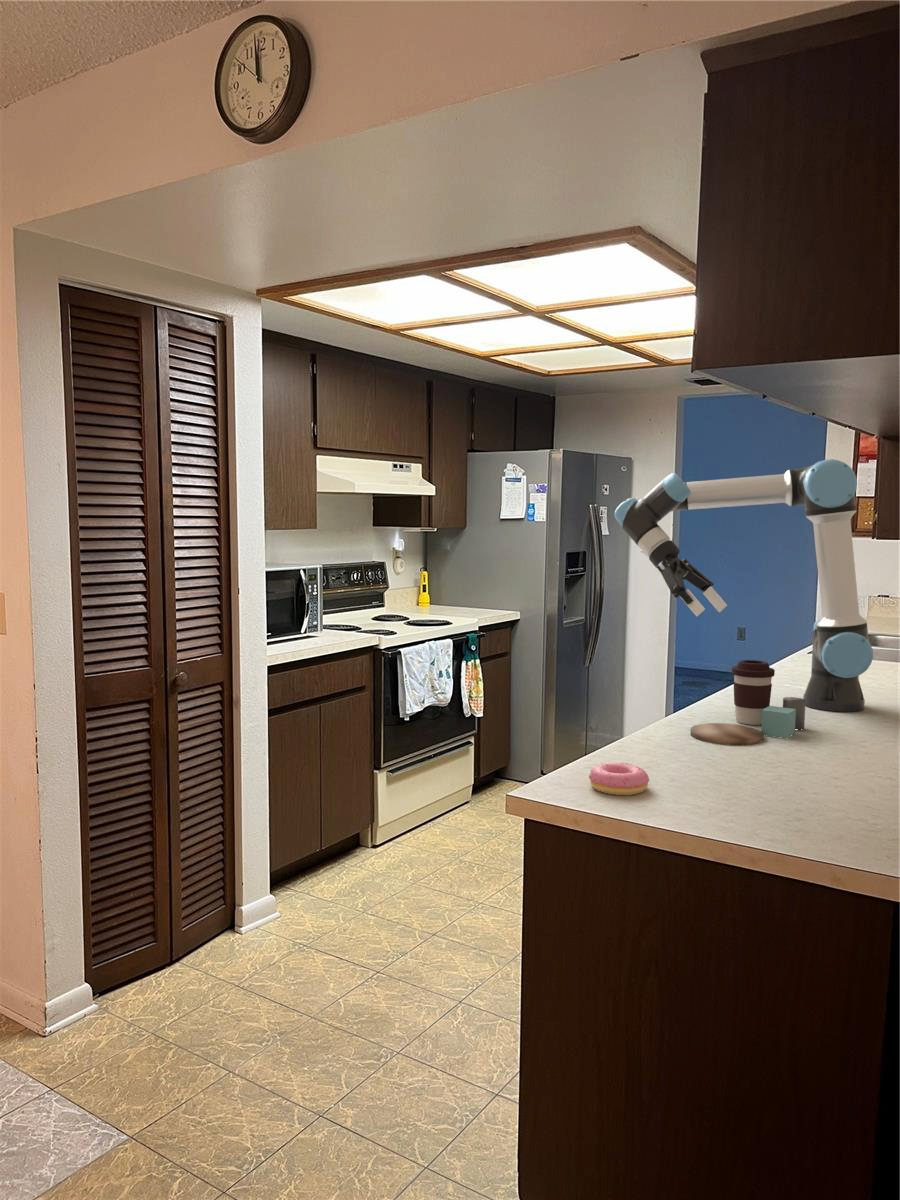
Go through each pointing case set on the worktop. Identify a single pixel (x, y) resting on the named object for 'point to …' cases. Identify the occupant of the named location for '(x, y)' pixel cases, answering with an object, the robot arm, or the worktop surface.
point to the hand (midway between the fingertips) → (712, 610)
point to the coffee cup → (751, 690)
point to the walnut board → (727, 734)
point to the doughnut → (619, 778)
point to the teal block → (778, 721)
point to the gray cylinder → (800, 710)
